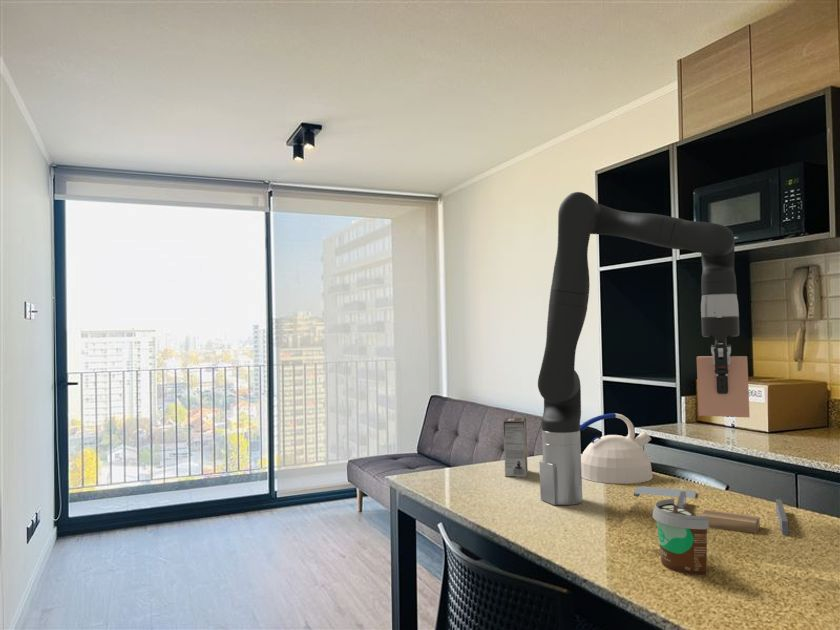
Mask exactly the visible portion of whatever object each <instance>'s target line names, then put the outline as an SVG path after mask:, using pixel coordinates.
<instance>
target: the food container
mask: <svg viewBox="0 0 840 630" xmlns="http://www.w3.org/2000/svg"><path fill="white" fill-rule="evenodd" d="M652 518H653V519H654V520H655V521H656V524H657V525H656V526H657V534H658V541H659V551H660V560H661V564H662V566H663V567H665V568H667V569H668V570H671V571H674V572H677V573H680V574H686V575H695V576H707V569H708V567H707V565H708V562H707V561H708V560H707V558H708V557H707V555H708V530H710V527H709V524H708V520H707V516H700V515H696V514H695V513H694V512H692V511H691V510H690V509H688V508H685V509H684V508H680V507H678V506H677V504H675V498H667V499H662V500H659V501H657V502H655V506H654V507H653V511H652Z"/></svg>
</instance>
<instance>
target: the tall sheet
mask: <svg viewBox="0 0 840 630" xmlns="http://www.w3.org/2000/svg"><path fill="white" fill-rule="evenodd" d="M748 365H749V363H748V356H747V355H745V356H744V355H742V356H741V355H740V356H739V355H737V356H736V355H733V356H731V355H730V365H729V366H728V370H729V375H728V376H726V377H728V393H727V394H718V393H717V381H716V377H718V376H716V375H715V366H714V365H713V355H711V356H708V355H707V356H706V355H705V356H704V355H703V356H702V355H701V356H700V355H699V356H696V373H697V374H696V377H697V381H696V382H697V404H698V405H697V406H698V408H697V409H698V416H699V417H723V418H725V417H726V418H729V417H730V418H750V416H751V415H750V395H749V394H750V393H749V392H750V391H749V370H748V369H749V366H748ZM718 368H725V366H718Z"/></svg>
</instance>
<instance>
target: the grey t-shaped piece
mask: <svg viewBox="0 0 840 630" xmlns="http://www.w3.org/2000/svg"><path fill="white" fill-rule="evenodd" d="M681 491H682V492H686V499H688V498H689V499H696V497H697V490H692V489H691V490H690V489H689V490H688V489H677V488H665V487H652V486H642V485H641V486H637V487H636V488H635V491H634V492H633V496H635V497H640V496H641V495H652V496H664V497H675V498H677V497H678V498H679V496H680V493H681Z"/></svg>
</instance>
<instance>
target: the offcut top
mask: <svg viewBox="0 0 840 630" xmlns="http://www.w3.org/2000/svg"><path fill="white" fill-rule="evenodd" d="M699 516H707V520H708V524H709V528H711V527H715V528H714V529H720V528H722V530H728V529H729V530H732V531H739V532H744V533H752V534H758V533H757V531H758V532H759V529H760V527H761V526H760V525H761V521H760V516H758V515H749V514H741V513H735V512H734V513H733V512H727V511H726V512H725V511H719V510H712V509H711V510H710V509H705V510H703V512H701V514H700V515H699ZM729 530H728V531H729Z"/></svg>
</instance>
